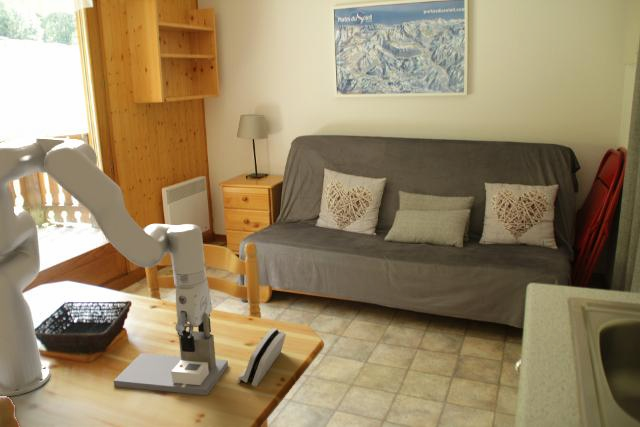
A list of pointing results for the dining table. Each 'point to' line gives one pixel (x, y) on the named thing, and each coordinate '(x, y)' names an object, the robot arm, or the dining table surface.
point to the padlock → (201, 346)
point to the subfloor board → (164, 375)
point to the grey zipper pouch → (263, 356)
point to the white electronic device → (190, 372)
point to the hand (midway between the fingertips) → (197, 341)
